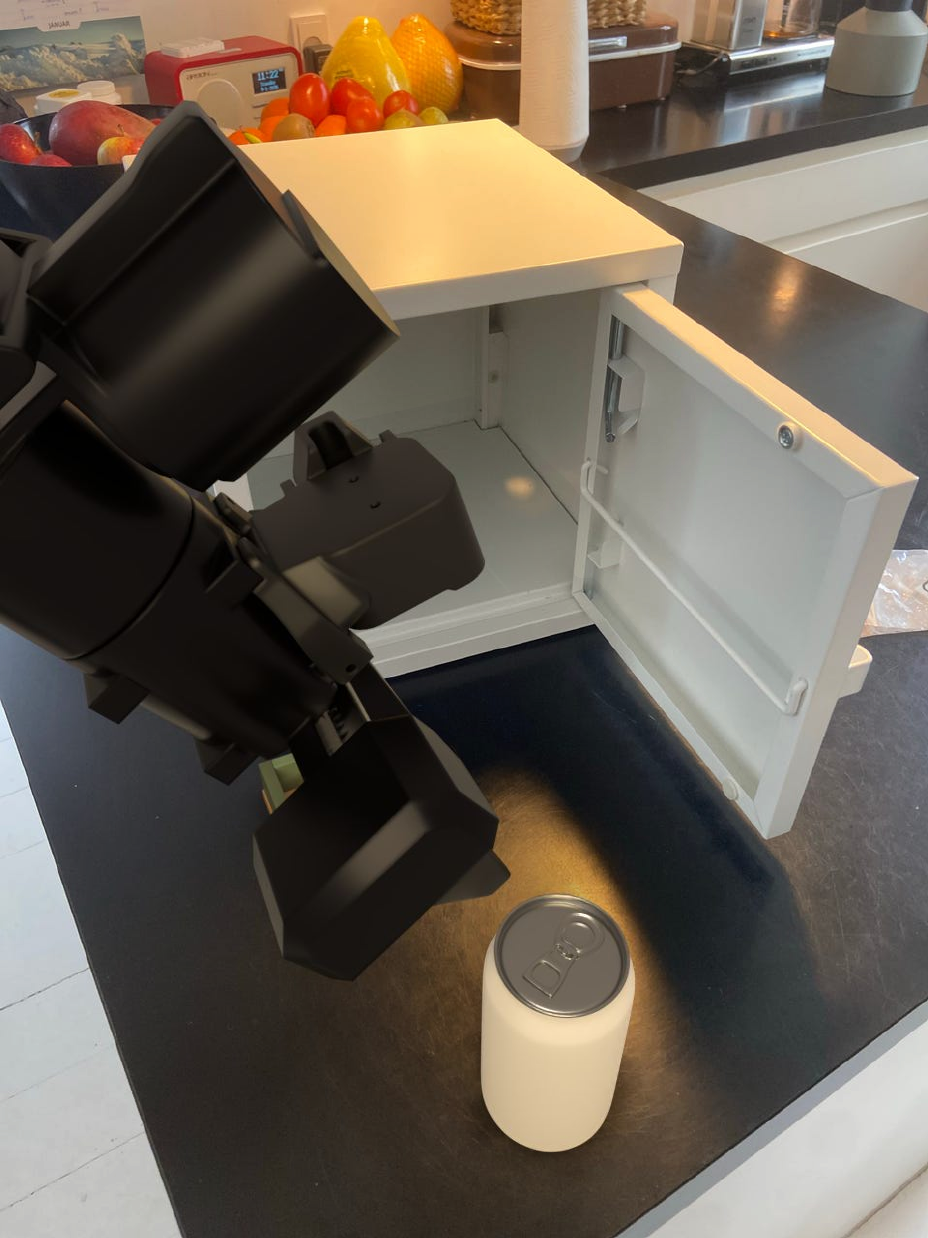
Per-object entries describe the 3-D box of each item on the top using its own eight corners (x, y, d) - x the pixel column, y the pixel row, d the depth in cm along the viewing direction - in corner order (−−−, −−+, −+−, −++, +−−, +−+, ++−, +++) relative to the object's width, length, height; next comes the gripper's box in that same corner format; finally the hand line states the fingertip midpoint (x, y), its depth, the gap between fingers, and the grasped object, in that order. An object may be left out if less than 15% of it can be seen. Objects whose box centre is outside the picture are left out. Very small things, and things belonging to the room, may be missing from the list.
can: (636, 1076, 45) (670, 941, 38) (562, 1188, 42) (583, 1062, 34) (531, 998, 49) (543, 859, 41) (453, 1095, 45) (451, 961, 37)
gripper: (463, 497, 18) (760, 814, 27) (250, 291, 32) (494, 547, 42) (67, 887, 18) (494, 1059, 28) (33, 514, 33) (323, 714, 43)
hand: (448, 797), depth 35 cm, fingers open, 9 cm apart
